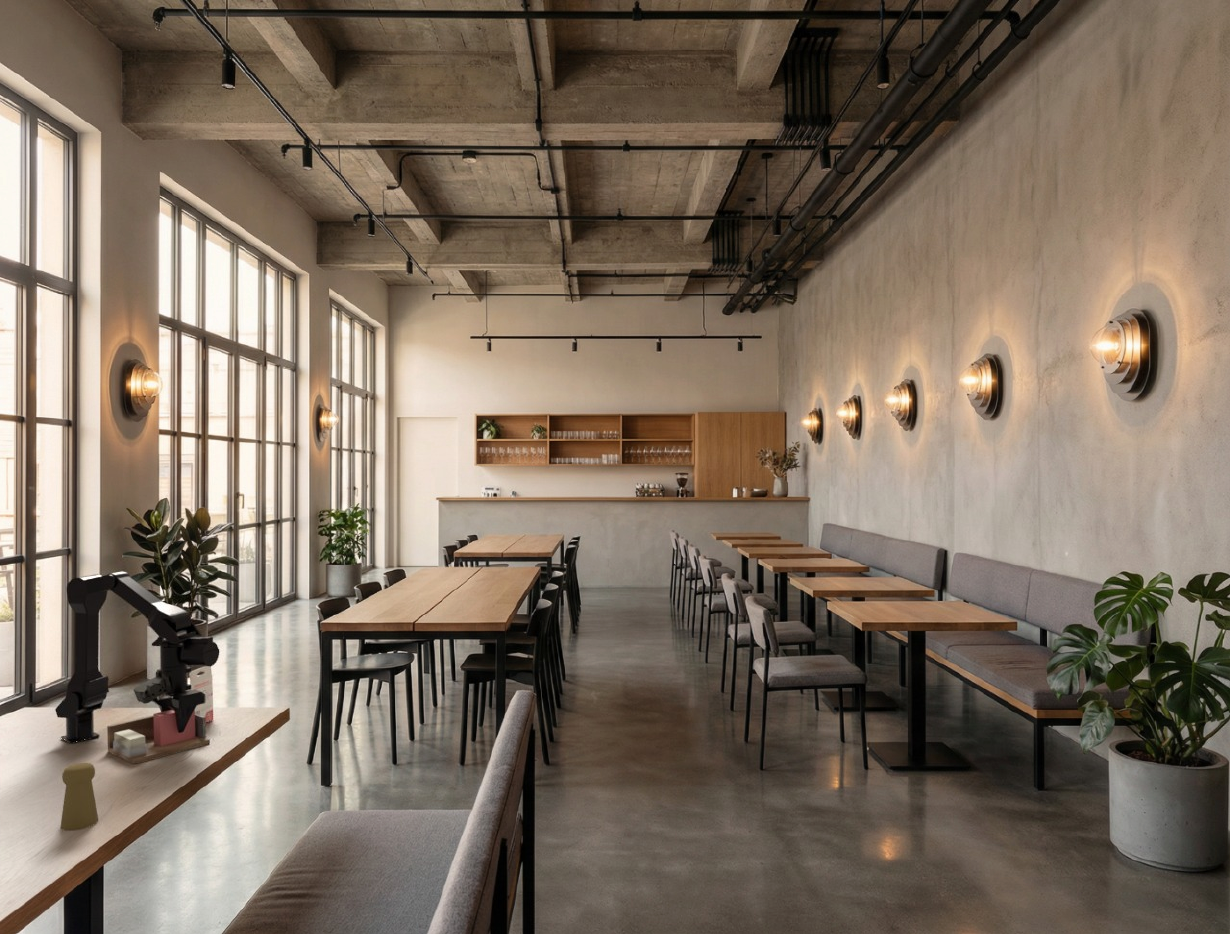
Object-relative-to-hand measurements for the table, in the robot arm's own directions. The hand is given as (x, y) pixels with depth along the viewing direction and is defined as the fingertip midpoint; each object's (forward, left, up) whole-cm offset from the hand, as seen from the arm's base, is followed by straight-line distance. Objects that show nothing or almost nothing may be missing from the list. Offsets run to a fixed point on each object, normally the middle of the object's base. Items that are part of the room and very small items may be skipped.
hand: (174, 730), depth 203 cm
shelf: (-1, -3, -4) cm, 5 cm away
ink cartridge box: (-12, +10, -4) cm, 16 cm away
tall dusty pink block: (0, 0, -2) cm, 3 cm away
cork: (+31, -32, -4) cm, 44 cm away
